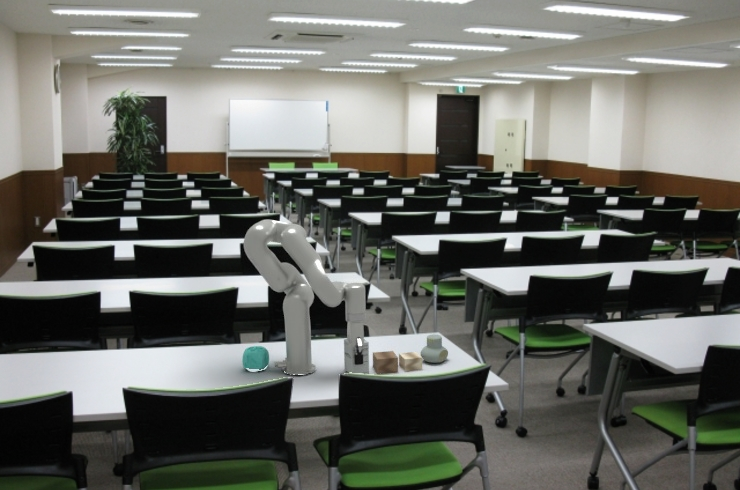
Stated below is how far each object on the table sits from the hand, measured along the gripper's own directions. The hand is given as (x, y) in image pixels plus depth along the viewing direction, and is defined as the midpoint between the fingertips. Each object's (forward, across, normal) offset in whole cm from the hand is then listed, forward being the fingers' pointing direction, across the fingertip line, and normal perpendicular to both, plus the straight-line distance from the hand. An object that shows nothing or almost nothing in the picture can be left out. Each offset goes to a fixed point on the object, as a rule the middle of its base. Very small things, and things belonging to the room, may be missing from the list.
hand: (356, 360), depth 275 cm
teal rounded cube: (+5, -13, -37) cm, 40 cm away
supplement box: (+5, 0, 0) cm, 5 cm away
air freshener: (+5, -5, +32) cm, 33 cm away
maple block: (+5, 0, +21) cm, 22 cm away
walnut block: (+5, 0, +11) cm, 12 cm away
